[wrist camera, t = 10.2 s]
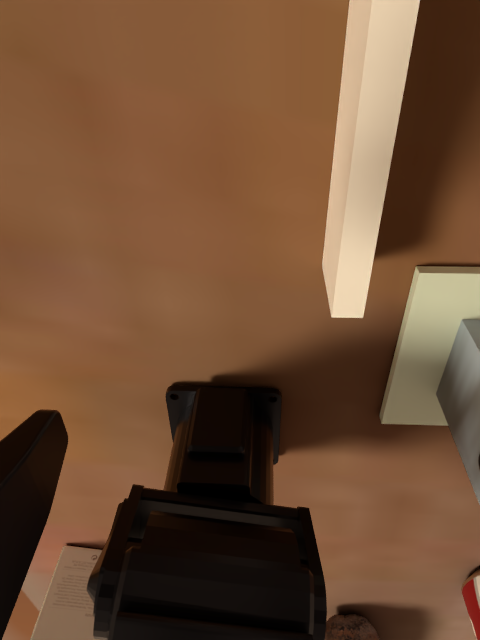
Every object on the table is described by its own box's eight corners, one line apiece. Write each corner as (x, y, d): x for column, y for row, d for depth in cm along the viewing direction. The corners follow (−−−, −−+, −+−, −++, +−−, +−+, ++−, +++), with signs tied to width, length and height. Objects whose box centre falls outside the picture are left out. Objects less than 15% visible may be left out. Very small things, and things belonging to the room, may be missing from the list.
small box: (63, 542, 38) (5, 703, 29) (131, 551, 38) (92, 713, 30) (68, 584, 43) (19, 733, 34) (128, 592, 43) (94, 742, 35)
